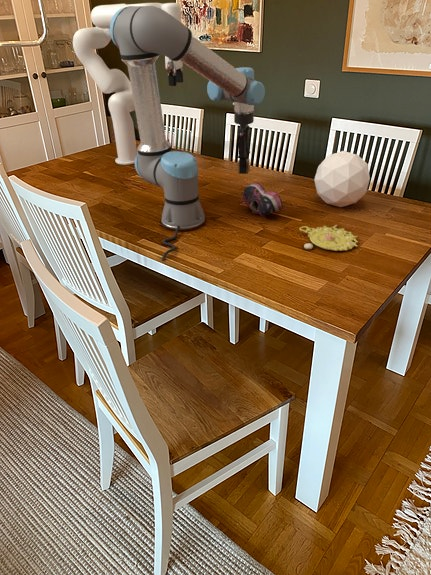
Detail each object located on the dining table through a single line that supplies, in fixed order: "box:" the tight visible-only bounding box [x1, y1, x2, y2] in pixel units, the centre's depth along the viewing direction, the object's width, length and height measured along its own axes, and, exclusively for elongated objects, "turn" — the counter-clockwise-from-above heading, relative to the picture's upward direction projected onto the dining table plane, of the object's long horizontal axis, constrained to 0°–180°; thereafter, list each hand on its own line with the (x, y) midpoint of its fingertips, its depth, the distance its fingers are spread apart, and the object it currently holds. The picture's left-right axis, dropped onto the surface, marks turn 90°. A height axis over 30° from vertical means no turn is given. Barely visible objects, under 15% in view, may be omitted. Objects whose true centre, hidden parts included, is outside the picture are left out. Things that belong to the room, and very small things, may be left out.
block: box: [237, 158, 251, 175], centre depth 182 cm, size 4×4×5 cm
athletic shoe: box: [238, 182, 284, 217], centre depth 160 cm, size 11×22×12 cm
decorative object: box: [299, 224, 359, 252], centre depth 141 cm, size 21×2×20 cm
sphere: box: [313, 150, 371, 208], centre depth 161 cm, size 19×20×20 cm
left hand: (176, 84), depth 190 cm, fingers open, 9 cm apart
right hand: (243, 171), depth 183 cm, fingers closed on block, 4 cm apart
